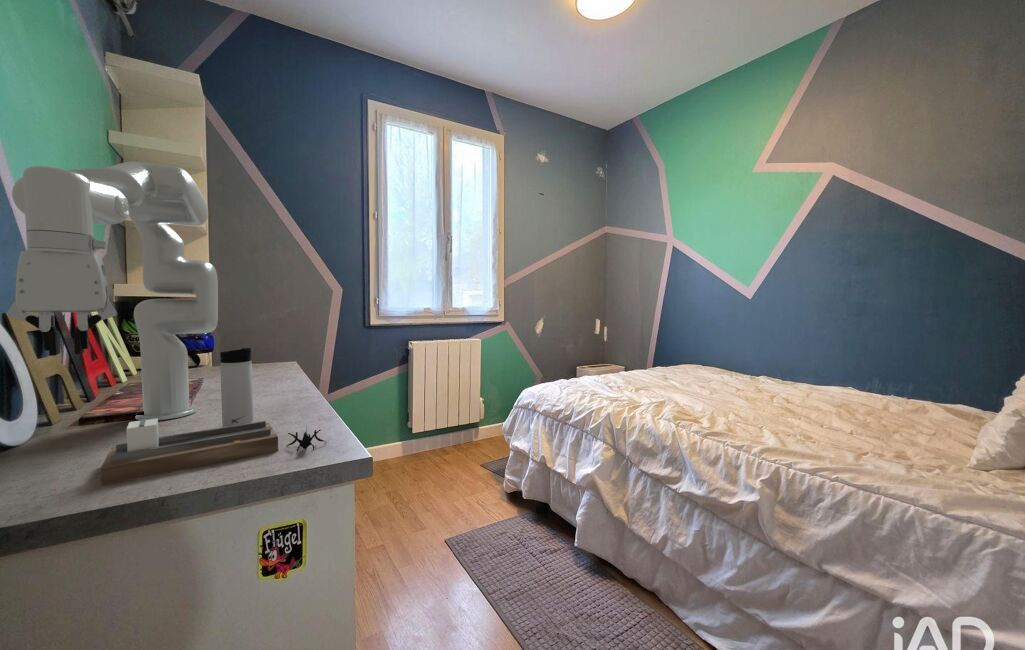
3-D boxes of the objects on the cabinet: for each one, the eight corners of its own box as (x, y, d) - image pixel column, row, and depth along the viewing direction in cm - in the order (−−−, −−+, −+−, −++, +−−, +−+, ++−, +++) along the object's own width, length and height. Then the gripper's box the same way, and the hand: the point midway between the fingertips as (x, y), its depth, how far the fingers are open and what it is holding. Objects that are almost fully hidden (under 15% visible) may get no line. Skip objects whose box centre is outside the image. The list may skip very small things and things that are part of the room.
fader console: (111, 463, 76) (110, 441, 76) (269, 435, 93) (268, 417, 92) (101, 485, 67) (100, 461, 67) (278, 450, 83) (277, 430, 83)
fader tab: (130, 448, 75) (129, 420, 75) (158, 443, 78) (157, 417, 77) (127, 456, 71) (126, 427, 71) (157, 451, 74) (156, 423, 74)
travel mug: (239, 434, 94) (236, 349, 92) (215, 431, 95) (213, 348, 94) (260, 426, 100) (258, 346, 99) (238, 424, 101) (236, 345, 100)
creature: (287, 450, 87) (282, 455, 80) (287, 425, 88) (282, 427, 80) (327, 445, 90) (325, 449, 83) (326, 421, 91) (325, 423, 84)
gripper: (130, 251, 75) (134, 349, 76) (-6, 243, 65) (1, 355, 66) (125, 247, 69) (130, 353, 70) (-25, 237, 59) (-17, 360, 60)
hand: (67, 353), depth 68 cm, fingers closed
